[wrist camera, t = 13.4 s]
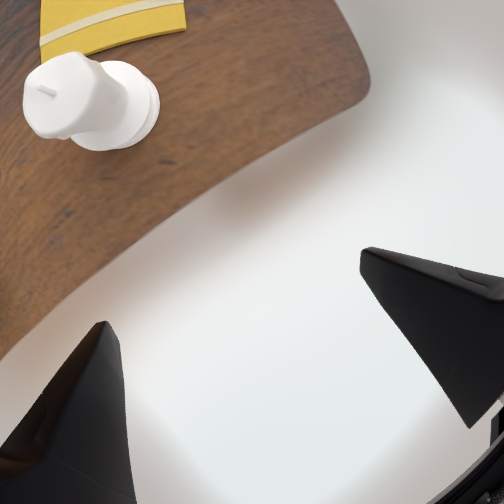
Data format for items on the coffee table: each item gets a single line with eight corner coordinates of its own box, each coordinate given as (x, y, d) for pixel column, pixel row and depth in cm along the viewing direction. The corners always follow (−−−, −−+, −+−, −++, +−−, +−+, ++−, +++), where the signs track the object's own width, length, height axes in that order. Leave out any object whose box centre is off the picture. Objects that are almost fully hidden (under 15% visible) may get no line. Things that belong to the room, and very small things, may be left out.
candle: (68, 126, 14) (-45, 147, 4) (113, 58, 13) (47, -18, 3) (130, 162, 17) (77, 227, 6) (176, 95, 16) (191, 50, 5)
